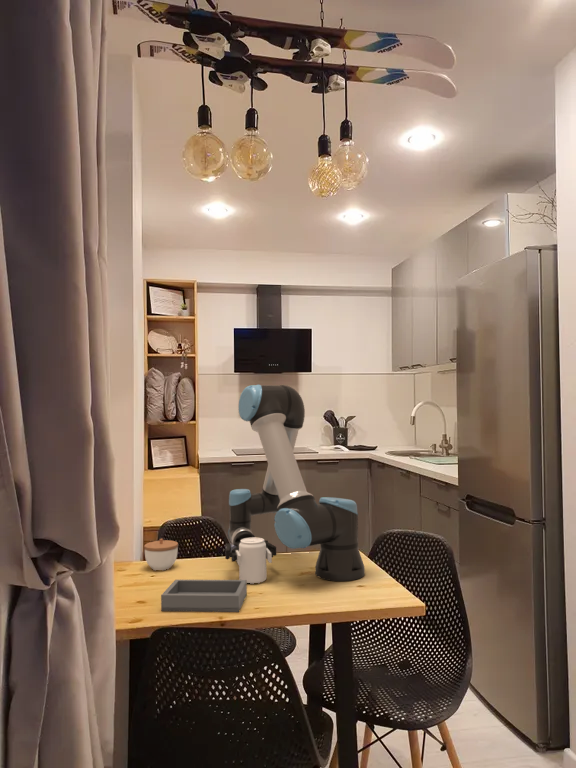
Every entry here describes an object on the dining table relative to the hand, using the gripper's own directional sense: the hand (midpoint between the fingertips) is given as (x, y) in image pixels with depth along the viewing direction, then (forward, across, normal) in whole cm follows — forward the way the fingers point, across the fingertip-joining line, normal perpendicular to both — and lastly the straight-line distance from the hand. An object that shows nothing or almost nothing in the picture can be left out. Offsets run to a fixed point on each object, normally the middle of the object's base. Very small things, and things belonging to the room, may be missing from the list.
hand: (255, 559), depth 159 cm
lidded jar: (-26, +27, -8) cm, 38 cm away
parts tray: (+11, +15, -8) cm, 20 cm away
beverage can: (-5, 0, -8) cm, 9 cm away
